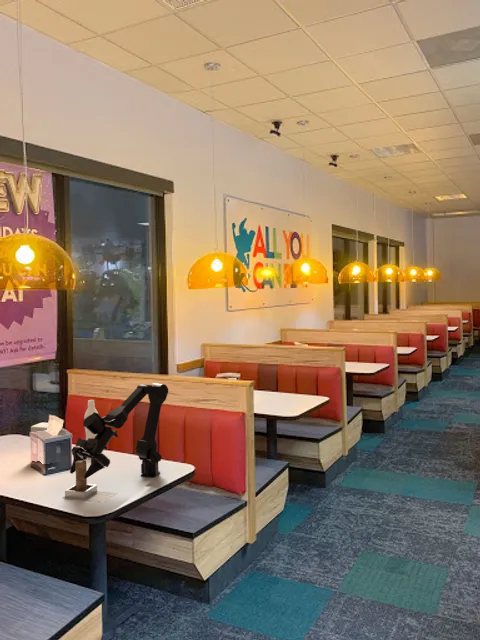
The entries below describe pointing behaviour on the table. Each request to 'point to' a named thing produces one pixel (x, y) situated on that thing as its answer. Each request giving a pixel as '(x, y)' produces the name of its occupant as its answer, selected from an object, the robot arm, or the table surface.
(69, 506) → the table surface
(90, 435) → the water bottle
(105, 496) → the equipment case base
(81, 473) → the stay rod
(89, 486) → the beige square tray
